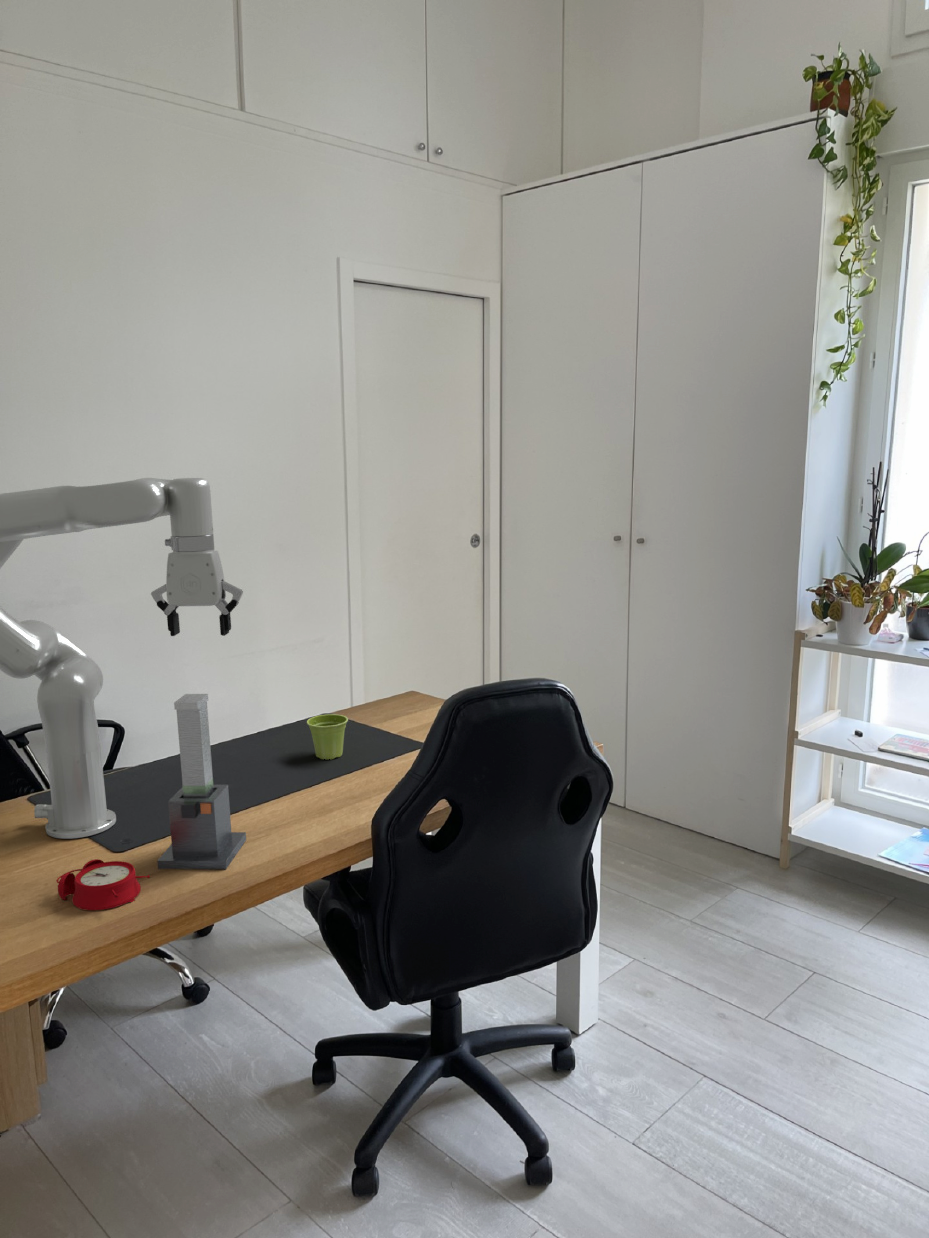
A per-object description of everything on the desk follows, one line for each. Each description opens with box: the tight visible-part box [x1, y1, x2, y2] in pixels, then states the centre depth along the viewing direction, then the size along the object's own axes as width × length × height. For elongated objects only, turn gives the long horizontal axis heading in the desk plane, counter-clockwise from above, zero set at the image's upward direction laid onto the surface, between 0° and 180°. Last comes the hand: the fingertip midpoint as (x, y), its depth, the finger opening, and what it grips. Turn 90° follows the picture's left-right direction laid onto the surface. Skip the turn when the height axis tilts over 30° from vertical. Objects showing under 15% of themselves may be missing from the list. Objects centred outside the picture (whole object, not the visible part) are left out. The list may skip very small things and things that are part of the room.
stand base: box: [156, 784, 247, 870], centre depth 165 cm, size 12×12×12 cm
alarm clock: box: [55, 858, 151, 911], centre depth 152 cm, size 10×6×15 cm
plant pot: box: [306, 713, 349, 760], centre depth 217 cm, size 9×9×9 cm
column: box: [173, 693, 214, 798], centre depth 163 cm, size 4×6×21 cm
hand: (200, 634), depth 178 cm, fingers open, 9 cm apart
